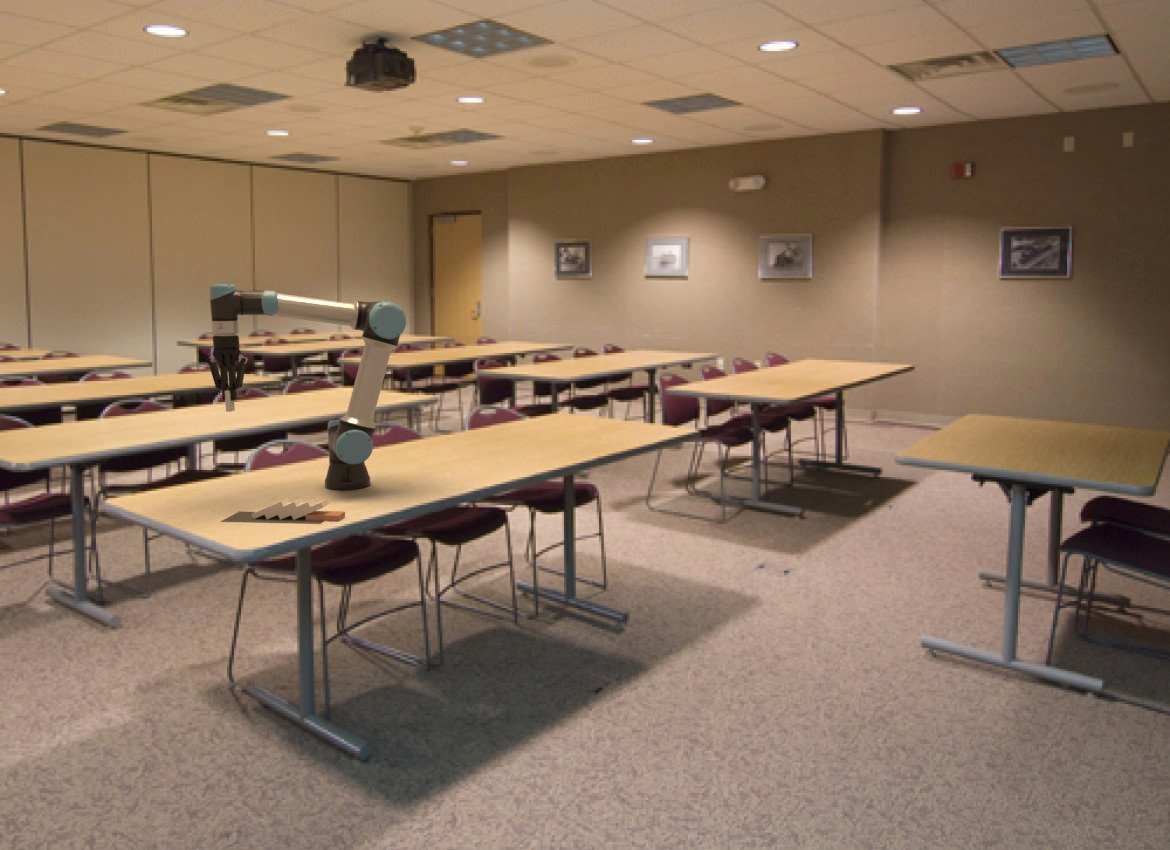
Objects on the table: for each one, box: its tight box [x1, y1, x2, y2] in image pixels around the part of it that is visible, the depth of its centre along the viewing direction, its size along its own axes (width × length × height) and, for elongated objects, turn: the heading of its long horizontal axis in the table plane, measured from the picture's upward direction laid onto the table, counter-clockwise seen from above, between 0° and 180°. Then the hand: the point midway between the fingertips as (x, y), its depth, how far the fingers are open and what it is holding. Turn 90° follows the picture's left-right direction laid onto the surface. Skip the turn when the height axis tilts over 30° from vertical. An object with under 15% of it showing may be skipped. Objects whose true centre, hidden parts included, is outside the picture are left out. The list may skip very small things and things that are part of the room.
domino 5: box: [306, 510, 346, 522], centre depth 265 cm, size 2×5×10 cm
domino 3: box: [278, 497, 317, 520], centre depth 265 cm, size 2×5×10 cm
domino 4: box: [291, 498, 331, 520], centre depth 265 cm, size 2×5×10 cm
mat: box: [219, 510, 325, 525], centre depth 266 cm, size 30×12×1 cm, turn 85°
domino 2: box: [265, 497, 304, 519], centre depth 265 cm, size 2×5×10 cm
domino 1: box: [252, 497, 291, 519], centre depth 266 cm, size 2×5×10 cm
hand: (230, 411), depth 280 cm, fingers closed
